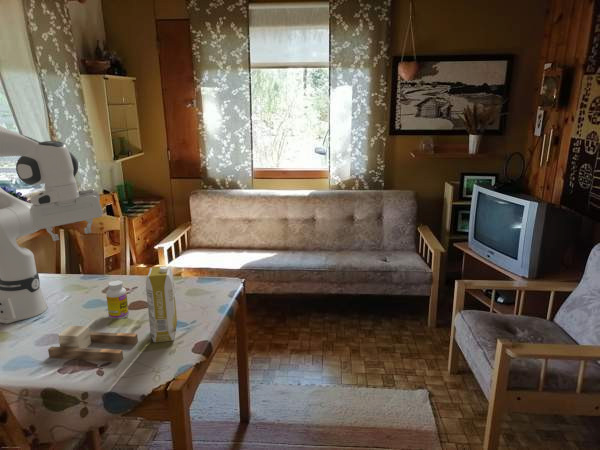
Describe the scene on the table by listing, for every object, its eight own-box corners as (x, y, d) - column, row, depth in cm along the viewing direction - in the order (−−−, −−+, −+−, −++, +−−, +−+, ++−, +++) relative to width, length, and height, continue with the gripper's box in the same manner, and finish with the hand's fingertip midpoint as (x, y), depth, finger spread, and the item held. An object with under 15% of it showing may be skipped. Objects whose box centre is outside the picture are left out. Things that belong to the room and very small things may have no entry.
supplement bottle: (122, 321, 152) (117, 287, 149) (105, 319, 154) (100, 285, 150) (132, 312, 159) (129, 280, 155) (116, 311, 160) (112, 278, 157)
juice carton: (176, 342, 139) (170, 272, 133) (150, 344, 137) (143, 273, 131) (178, 328, 148) (172, 261, 141) (154, 330, 146) (147, 263, 140)
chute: (50, 361, 128) (47, 348, 127) (72, 342, 139) (70, 330, 138) (121, 365, 126) (119, 352, 125) (138, 345, 137) (137, 333, 136)
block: (61, 353, 130) (58, 335, 129) (73, 342, 136) (70, 325, 135) (80, 354, 130) (77, 336, 128) (91, 343, 136) (88, 326, 134)
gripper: (95, 187, 144) (103, 227, 147) (24, 199, 131) (35, 243, 135) (100, 188, 139) (109, 230, 142) (27, 201, 126) (39, 246, 130)
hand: (72, 236), depth 138 cm, fingers open, 8 cm apart
